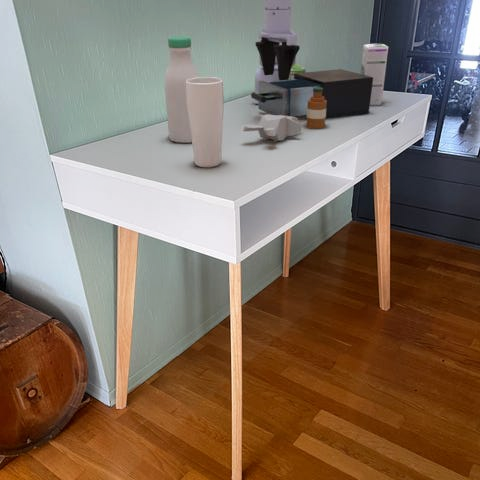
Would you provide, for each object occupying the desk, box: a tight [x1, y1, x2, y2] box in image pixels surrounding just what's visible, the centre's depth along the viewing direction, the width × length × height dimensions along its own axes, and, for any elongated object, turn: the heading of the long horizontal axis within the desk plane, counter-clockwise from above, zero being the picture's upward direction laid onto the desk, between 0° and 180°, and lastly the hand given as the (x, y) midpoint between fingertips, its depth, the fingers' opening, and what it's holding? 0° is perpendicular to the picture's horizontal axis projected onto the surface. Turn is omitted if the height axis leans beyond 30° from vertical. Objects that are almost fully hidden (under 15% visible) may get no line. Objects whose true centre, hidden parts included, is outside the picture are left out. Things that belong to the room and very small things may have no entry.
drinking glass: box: [186, 76, 225, 168], centre depth 94 cm, size 7×7×15 cm
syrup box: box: [360, 43, 389, 106], centre depth 136 cm, size 6×6×14 cm
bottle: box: [305, 87, 327, 130], centre depth 118 cm, size 4×4×8 cm
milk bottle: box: [164, 36, 200, 144], centre depth 107 cm, size 8×8×20 cm
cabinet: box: [294, 68, 373, 120], centre depth 131 cm, size 15×15×9 cm
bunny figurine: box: [242, 113, 303, 143], centre depth 111 cm, size 10×5×15 cm
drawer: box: [250, 78, 322, 117], centre depth 127 cm, size 17×13×7 cm
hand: (276, 77), depth 117 cm, fingers open, 7 cm apart
